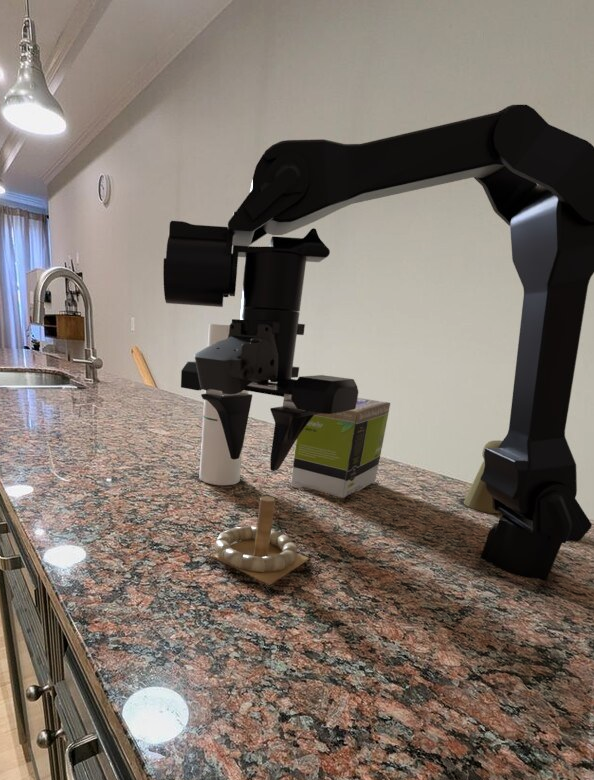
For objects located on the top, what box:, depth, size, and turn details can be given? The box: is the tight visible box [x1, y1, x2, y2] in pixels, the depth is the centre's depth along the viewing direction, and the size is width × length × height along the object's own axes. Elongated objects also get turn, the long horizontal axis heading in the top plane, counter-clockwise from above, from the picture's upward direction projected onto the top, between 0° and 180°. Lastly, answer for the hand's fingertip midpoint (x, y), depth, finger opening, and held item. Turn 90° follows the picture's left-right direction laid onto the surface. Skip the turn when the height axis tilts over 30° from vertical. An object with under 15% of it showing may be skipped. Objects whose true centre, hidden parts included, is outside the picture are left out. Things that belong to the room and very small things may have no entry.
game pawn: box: [463, 440, 503, 514], centre depth 73 cm, size 6×6×11 cm
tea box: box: [290, 397, 391, 499], centre depth 77 cm, size 15×10×15 cm
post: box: [210, 495, 310, 586], centre depth 49 cm, size 8×8×8 cm
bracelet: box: [214, 525, 298, 572], centre depth 51 cm, size 9×9×2 cm
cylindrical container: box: [198, 323, 249, 486], centre depth 74 cm, size 7×7×25 cm
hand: (254, 464), depth 50 cm, fingers open, 5 cm apart
